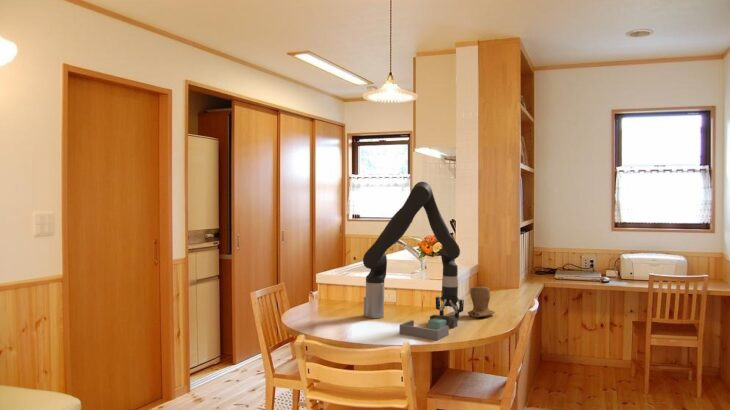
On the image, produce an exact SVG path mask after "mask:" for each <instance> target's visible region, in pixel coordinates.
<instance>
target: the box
mask: <svg viewBox="0 0 730 410" xmlns="http://www.w3.org/2000/svg"><path fill="white" fill-rule="evenodd" d="M414 324H415V322H414V320H413V319H410V320H408V321H405V322H403V323H401V324H399V332H398V334H399V335H405V336H411V337H415V338H422V339H427V340H433V341H439V340H441V339H443V338H445V337H447V336H448V335H449V333H450V332H449V330H450V328H449V327H450V326H447V325H446V326H444V327H442V328H440V329H437V330H434V329H428V327H421V326H414Z"/></svg>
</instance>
